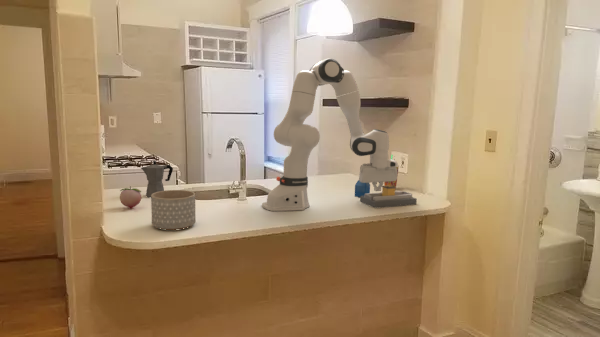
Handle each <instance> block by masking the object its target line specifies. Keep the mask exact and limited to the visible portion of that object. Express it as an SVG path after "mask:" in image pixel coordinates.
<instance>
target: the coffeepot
mask: <svg viewBox="0 0 600 337" xmlns="http://www.w3.org/2000/svg"><path fill="white" fill-rule="evenodd" d="M140 169H141V170H142V171H143V172H144V174H145V176H146V180H147V181H148V182H147V186H146V191H145V192H146V194H145V197H146V196H147V198H149V197H151V195H152V194H153V193H155V192H159V191H165V188H164V184H163V180H164V181H165V182H169V181H171V180H170V179H171V176H172V173H173V170H174V167H172V166H171V165H170V164H163V165H161V164H157V160H153V161H152V164H151V165H150V164H149V165H146V166H142V167H141V168H140ZM165 170H168V174H167V178H166V179H165V178H164V172H165ZM163 178H164V179H163Z"/></svg>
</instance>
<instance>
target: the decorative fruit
mask: <svg viewBox="0 0 600 337" xmlns="http://www.w3.org/2000/svg"><path fill="white" fill-rule="evenodd" d="M119 192H120V195H119V201H120V203H121V204H122V205H123V206H124V207H127V208H129V209H132V208H134V207H137V206H138V205H139V204H140V202H141V201H142V191H141V190H140V189H138V188H131V186H130V185H129V188H128V187H126V188H122V189H119Z"/></svg>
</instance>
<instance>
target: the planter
mask: <svg viewBox="0 0 600 337" xmlns="http://www.w3.org/2000/svg"><path fill="white" fill-rule="evenodd" d="M150 200H151V202H150V203H151V205H150V208H151V209H150V210H151V226H153V227H154V228H156V229H158V228H161V229H166V230H176V229H183V228H187V227H189V226H190V227H192V226H193V225H195V224H196V223H197V222H196V193H195V192H194V191H192V190H191V191H190V190H185V189H184V190H183V189H170V190H169V189H167V190H164V191H159V192H155V193H153V194H152V195H151V199H150ZM190 227H189V228H190ZM187 229H188V228H187ZM166 230H165V231H166ZM183 230H184V229H183ZM176 231H177V230H176Z"/></svg>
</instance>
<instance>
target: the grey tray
mask: <svg viewBox="0 0 600 337" xmlns="http://www.w3.org/2000/svg"><path fill="white" fill-rule="evenodd" d="M359 202H360V203H362V204H363V205H364V204H365V205H367V206H369V207H372V208H374V209H381V208H392V207H403V206H405V207H406V206H413V205H417V198H416V197H413V193H411V192H408V191H402V190H398V191H396V190H395V195H390V196H382V192H380V191H379V192H372V193H371V192H370V193H366V194H365V196H360V197H359Z"/></svg>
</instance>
